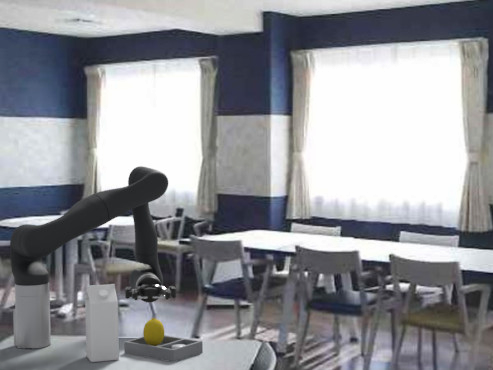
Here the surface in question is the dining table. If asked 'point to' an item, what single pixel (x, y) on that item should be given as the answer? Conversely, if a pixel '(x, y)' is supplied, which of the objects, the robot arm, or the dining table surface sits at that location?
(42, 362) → the dining table surface
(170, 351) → the grey divided tray
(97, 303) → the milk carton
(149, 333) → the lemon
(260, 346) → the dining table surface
